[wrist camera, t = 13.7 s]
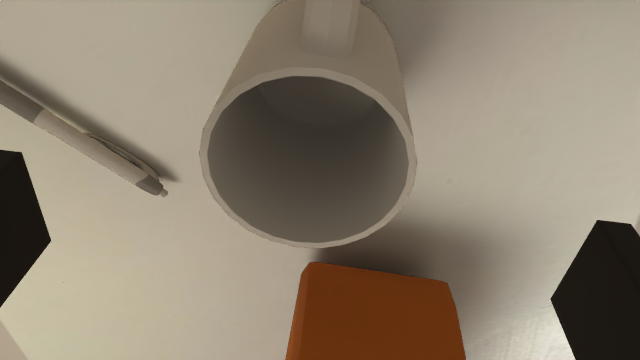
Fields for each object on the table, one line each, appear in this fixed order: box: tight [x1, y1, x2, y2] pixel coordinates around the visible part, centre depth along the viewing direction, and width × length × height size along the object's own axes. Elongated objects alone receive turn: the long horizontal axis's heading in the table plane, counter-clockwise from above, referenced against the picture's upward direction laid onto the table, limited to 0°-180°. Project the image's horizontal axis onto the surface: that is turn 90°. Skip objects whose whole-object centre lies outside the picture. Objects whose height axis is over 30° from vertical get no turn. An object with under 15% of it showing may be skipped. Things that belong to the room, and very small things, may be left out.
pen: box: [0, 80, 168, 197], centre depth 25 cm, size 1×14×1 cm, turn 49°
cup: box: [199, 0, 417, 248], centre depth 18 cm, size 7×10×9 cm
